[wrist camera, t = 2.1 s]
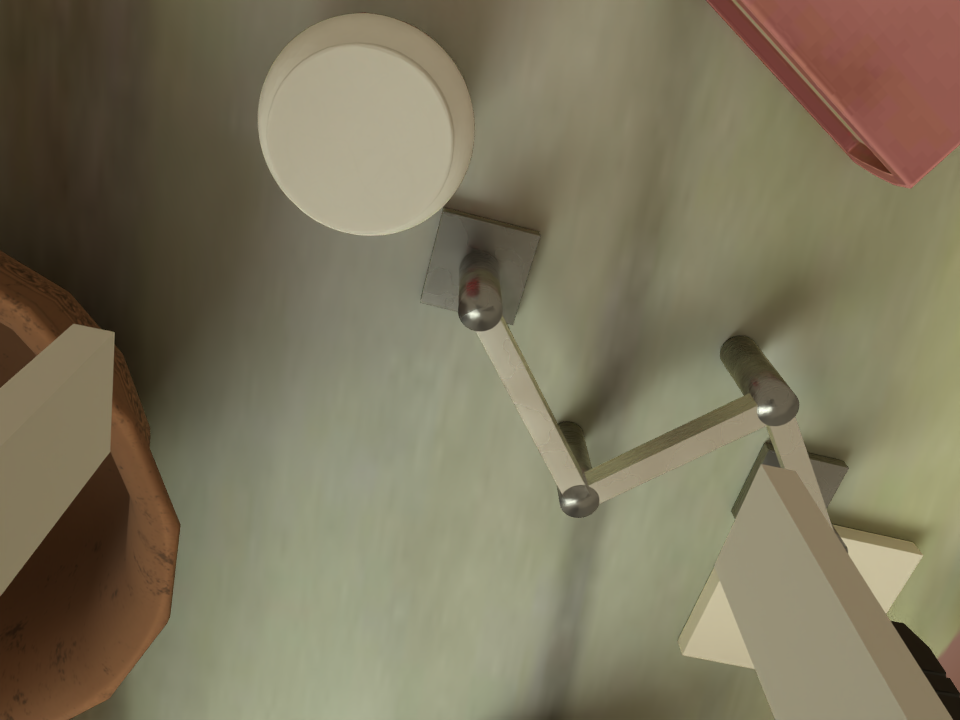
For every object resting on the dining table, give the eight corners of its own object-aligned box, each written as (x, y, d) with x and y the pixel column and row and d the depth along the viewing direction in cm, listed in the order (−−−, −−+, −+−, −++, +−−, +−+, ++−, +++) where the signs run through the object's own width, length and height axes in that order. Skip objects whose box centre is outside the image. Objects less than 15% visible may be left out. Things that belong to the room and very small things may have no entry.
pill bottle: (495, 98, 30) (535, 128, 20) (394, 222, 32) (384, 309, 21) (363, -20, 28) (333, -53, 18) (263, 118, 30) (183, 158, 20)
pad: (677, 640, 42) (682, 654, 41) (744, 505, 39) (751, 517, 38) (832, 671, 43) (840, 685, 42) (913, 542, 40) (923, 555, 39)
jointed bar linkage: (386, 435, 37) (374, 500, 32) (443, 207, 32) (439, 245, 28) (806, 527, 39) (850, 599, 35) (915, 328, 35) (982, 381, 30)
